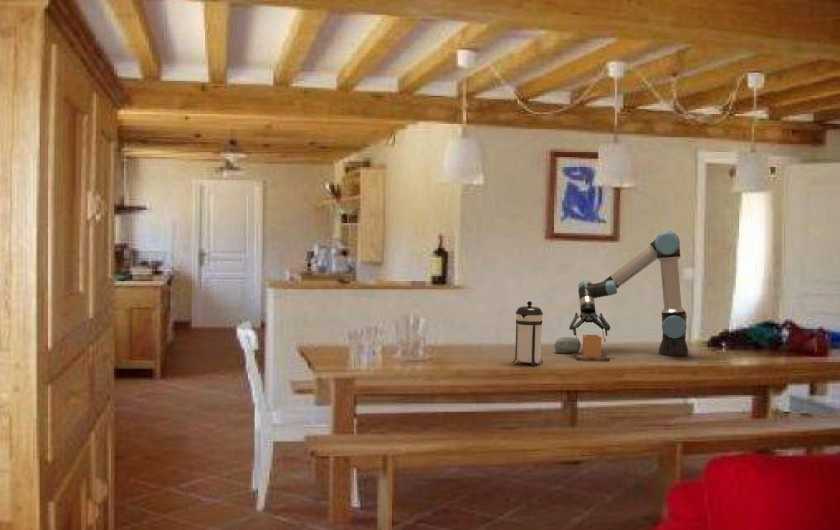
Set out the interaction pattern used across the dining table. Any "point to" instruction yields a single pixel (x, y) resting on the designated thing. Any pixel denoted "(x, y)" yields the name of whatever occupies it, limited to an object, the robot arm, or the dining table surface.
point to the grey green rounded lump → (567, 345)
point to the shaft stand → (581, 358)
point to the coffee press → (528, 334)
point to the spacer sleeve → (592, 345)
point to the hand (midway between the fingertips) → (591, 340)
